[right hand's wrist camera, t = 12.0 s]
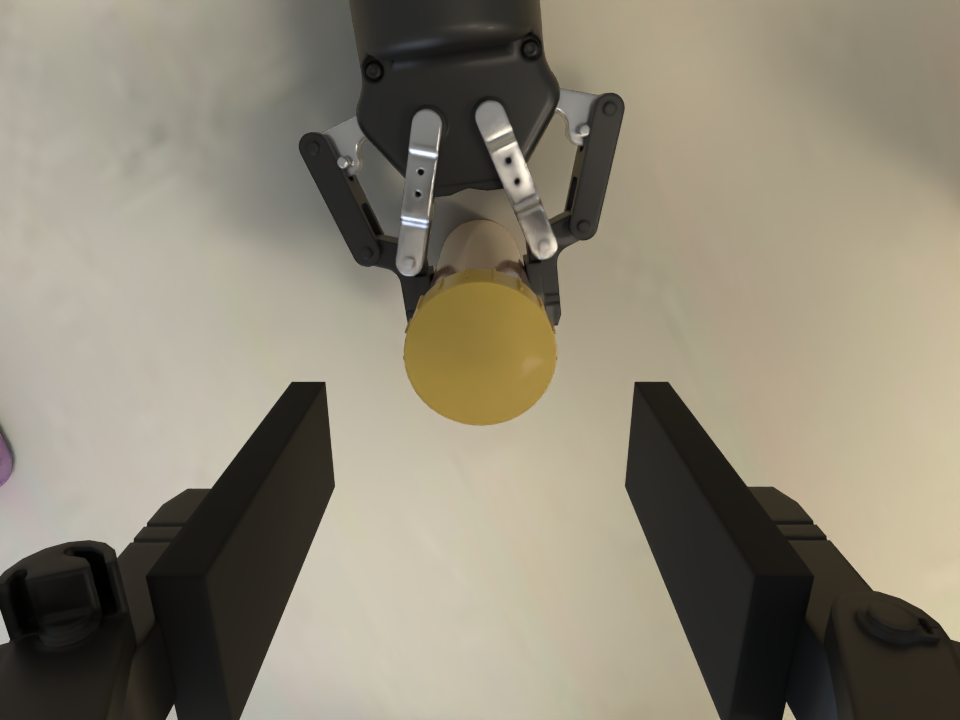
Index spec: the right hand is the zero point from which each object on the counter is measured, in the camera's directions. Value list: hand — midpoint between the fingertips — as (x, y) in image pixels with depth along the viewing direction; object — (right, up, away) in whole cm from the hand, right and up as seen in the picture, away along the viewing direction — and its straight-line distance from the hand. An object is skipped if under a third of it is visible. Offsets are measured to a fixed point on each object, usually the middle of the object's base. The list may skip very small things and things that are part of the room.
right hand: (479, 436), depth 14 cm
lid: (0, +2, +5) cm, 6 cm away
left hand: (0, +3, +15) cm, 16 cm away
